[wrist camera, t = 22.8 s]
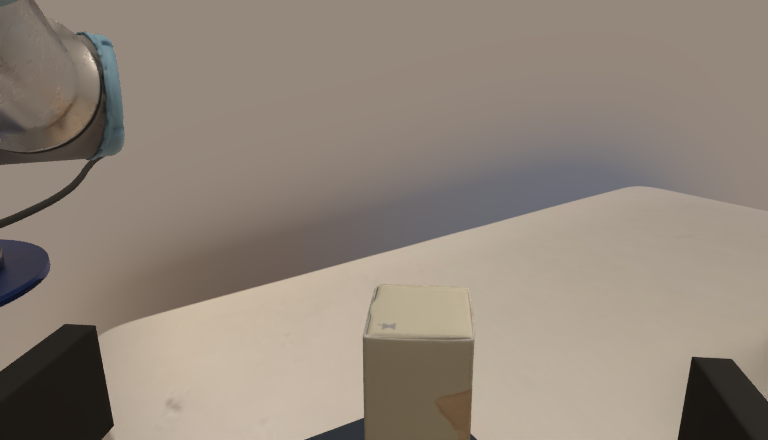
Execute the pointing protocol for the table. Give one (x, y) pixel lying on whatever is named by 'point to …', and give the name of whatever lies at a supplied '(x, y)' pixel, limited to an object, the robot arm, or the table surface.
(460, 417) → the box
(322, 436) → the desk mat
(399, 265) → the table surface
